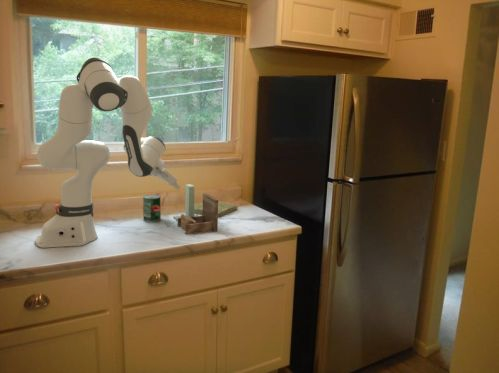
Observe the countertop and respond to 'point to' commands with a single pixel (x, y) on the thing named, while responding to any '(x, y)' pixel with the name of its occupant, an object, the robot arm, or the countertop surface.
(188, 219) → the offcut stack
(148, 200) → the canned tomato
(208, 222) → the walnut rack
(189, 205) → the pale green block
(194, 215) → the grey mat
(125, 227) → the countertop surface
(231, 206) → the decorative tile
